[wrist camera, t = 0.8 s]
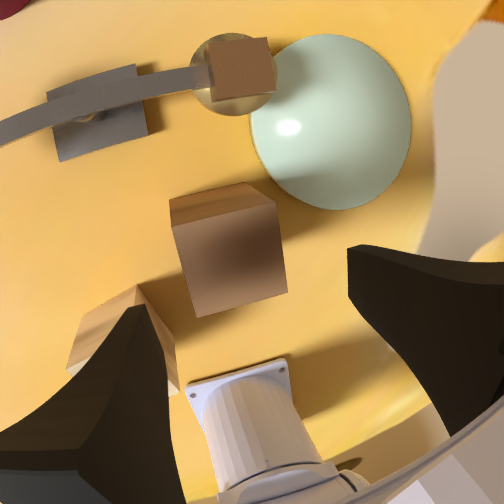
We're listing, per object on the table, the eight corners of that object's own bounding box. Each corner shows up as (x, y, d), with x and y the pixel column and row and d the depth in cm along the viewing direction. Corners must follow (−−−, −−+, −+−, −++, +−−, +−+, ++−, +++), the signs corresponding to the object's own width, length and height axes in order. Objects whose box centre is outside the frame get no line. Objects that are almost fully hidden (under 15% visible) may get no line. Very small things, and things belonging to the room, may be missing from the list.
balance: (260, 113, 17) (308, 105, 11) (-18, 194, 14) (-78, 224, 8) (249, 48, 15) (291, 11, 10) (-31, 133, 12) (-95, 143, 7)
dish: (406, 191, 21) (414, 194, 21) (264, 223, 19) (270, 227, 19) (390, 42, 17) (399, 40, 16) (234, 41, 15) (238, 37, 14)
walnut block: (256, 251, 20) (288, 292, 15) (186, 269, 19) (196, 318, 14) (244, 182, 18) (275, 202, 13) (169, 199, 18) (171, 227, 13)
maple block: (173, 334, 21) (180, 392, 16) (121, 360, 20) (117, 418, 15) (136, 284, 19) (130, 336, 14) (83, 314, 18) (65, 369, 14)
